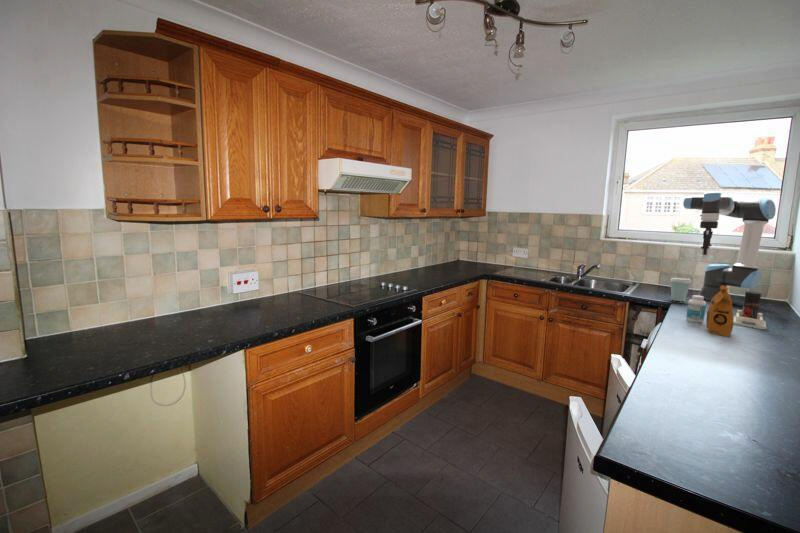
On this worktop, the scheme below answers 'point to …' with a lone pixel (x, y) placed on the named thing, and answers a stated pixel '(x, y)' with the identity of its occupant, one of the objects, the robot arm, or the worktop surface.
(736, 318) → the cream square open box
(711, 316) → the coffee package
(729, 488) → the worktop surface
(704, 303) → the pill bottle
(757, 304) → the deodorant
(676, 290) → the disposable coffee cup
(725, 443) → the worktop surface
